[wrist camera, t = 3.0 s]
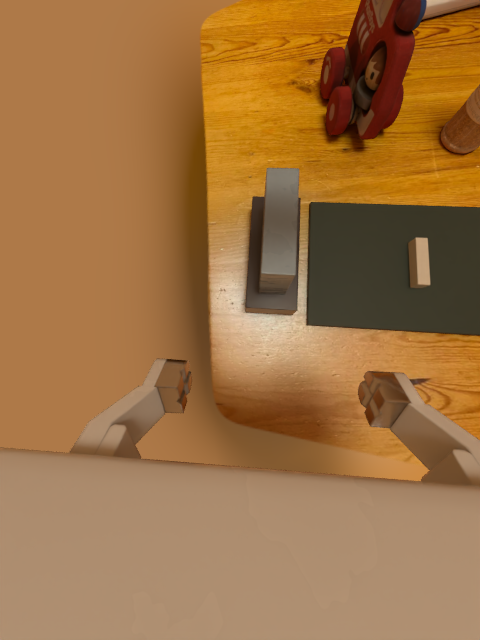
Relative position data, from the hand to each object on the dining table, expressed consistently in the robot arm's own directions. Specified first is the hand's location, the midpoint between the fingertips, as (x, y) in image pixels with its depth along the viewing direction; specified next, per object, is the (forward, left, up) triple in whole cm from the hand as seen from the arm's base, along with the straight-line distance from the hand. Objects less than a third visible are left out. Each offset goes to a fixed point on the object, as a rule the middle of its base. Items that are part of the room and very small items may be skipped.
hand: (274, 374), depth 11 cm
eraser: (+11, -1, -14) cm, 18 cm away
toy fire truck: (+31, -9, -14) cm, 35 cm away
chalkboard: (+11, -19, -14) cm, 26 cm away
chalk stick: (+11, -16, -13) cm, 23 cm away
